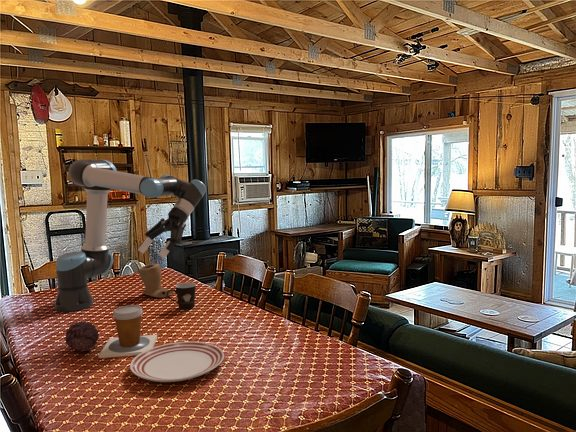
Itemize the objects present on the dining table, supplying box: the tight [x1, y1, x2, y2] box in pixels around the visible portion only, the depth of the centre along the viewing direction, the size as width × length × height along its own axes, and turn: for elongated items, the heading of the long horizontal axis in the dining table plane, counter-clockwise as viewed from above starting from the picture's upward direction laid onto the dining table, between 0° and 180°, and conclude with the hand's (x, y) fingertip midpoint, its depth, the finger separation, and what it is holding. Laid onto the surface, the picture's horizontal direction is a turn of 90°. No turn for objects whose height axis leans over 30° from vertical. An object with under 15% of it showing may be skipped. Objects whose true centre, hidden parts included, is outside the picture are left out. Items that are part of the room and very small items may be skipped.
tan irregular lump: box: [138, 263, 175, 299], centre depth 203 cm, size 15×12×15 cm
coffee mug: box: [166, 282, 197, 311], centre depth 185 cm, size 12×9×10 cm
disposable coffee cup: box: [112, 304, 144, 347], centre depth 144 cm, size 10×10×12 cm
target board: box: [98, 334, 158, 359], centre depth 145 cm, size 16×14×1 cm
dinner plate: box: [129, 341, 225, 383], centre depth 130 cm, size 28×27×3 cm
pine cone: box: [64, 321, 100, 352], centre depth 142 cm, size 18×10×10 cm, turn 36°
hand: (150, 254), depth 166 cm, fingers open, 13 cm apart
